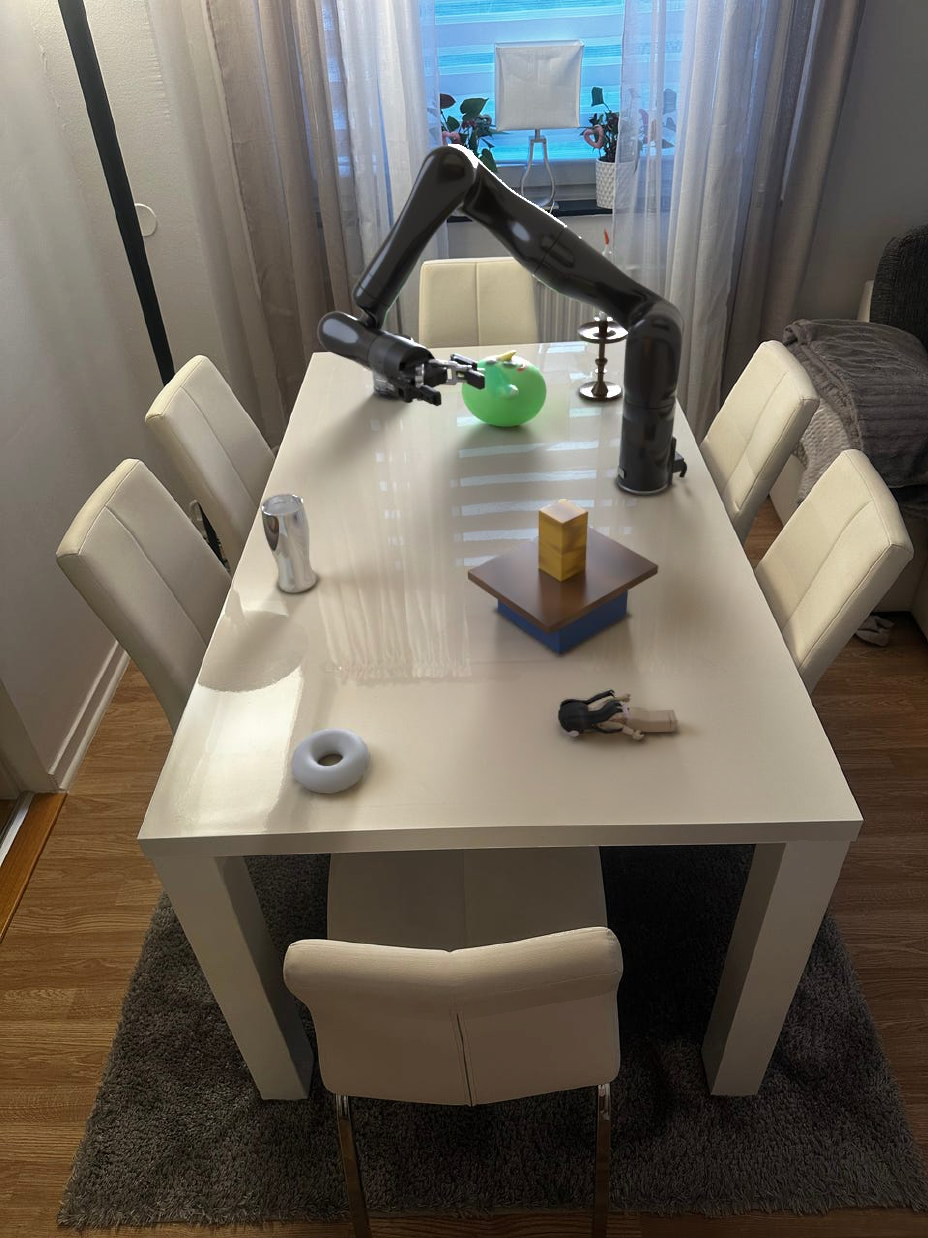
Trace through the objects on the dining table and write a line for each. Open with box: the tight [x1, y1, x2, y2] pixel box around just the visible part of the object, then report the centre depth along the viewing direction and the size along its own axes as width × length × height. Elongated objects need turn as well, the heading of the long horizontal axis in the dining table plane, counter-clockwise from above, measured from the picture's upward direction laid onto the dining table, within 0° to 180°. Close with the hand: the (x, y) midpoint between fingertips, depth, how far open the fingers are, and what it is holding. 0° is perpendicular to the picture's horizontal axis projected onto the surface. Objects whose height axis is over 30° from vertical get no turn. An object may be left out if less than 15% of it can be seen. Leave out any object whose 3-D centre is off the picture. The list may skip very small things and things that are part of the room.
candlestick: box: [576, 229, 627, 403], centre depth 189 cm, size 11×11×35 cm
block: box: [538, 497, 589, 582], centre depth 130 cm, size 5×5×10 cm
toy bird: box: [458, 350, 547, 427], centre depth 186 cm, size 18×17×15 cm
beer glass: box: [260, 493, 316, 594], centre depth 143 cm, size 7×7×15 cm
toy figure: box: [557, 687, 678, 740], centre depth 116 cm, size 7×6×15 cm
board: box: [467, 525, 659, 635], centre depth 133 cm, size 22×18×2 cm
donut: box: [290, 728, 370, 794], centre depth 114 cm, size 10×4×10 cm
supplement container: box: [371, 333, 414, 400], centre depth 202 cm, size 10×10×12 cm
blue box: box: [497, 590, 629, 655], centre depth 136 cm, size 14×14×7 cm
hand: (461, 391), depth 137 cm, fingers open, 8 cm apart
